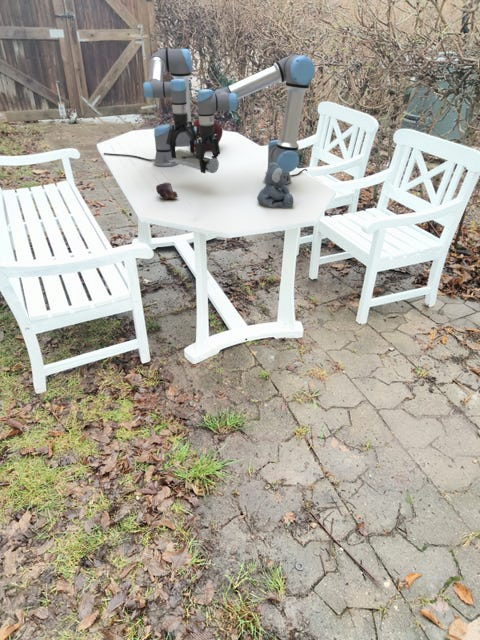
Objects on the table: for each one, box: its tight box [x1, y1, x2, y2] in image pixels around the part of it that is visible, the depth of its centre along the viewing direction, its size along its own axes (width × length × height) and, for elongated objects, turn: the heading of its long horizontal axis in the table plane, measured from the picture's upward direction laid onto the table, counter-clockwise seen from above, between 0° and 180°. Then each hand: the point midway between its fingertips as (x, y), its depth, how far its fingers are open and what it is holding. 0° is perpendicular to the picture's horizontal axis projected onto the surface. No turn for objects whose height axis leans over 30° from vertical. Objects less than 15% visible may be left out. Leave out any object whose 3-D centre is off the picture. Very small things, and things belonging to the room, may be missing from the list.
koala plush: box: [256, 163, 294, 209], centre depth 226 cm, size 17×18×20 cm
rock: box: [155, 182, 178, 200], centre depth 237 cm, size 12×9×10 cm
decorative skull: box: [193, 119, 224, 153], centre depth 321 cm, size 21×24×25 cm
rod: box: [174, 148, 220, 174], centre depth 240 cm, size 27×8×8 cm, turn 47°
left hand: (183, 155), depth 245 cm, fingers open, 13 cm apart
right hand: (208, 170), depth 236 cm, fingers closed on rod, 8 cm apart
